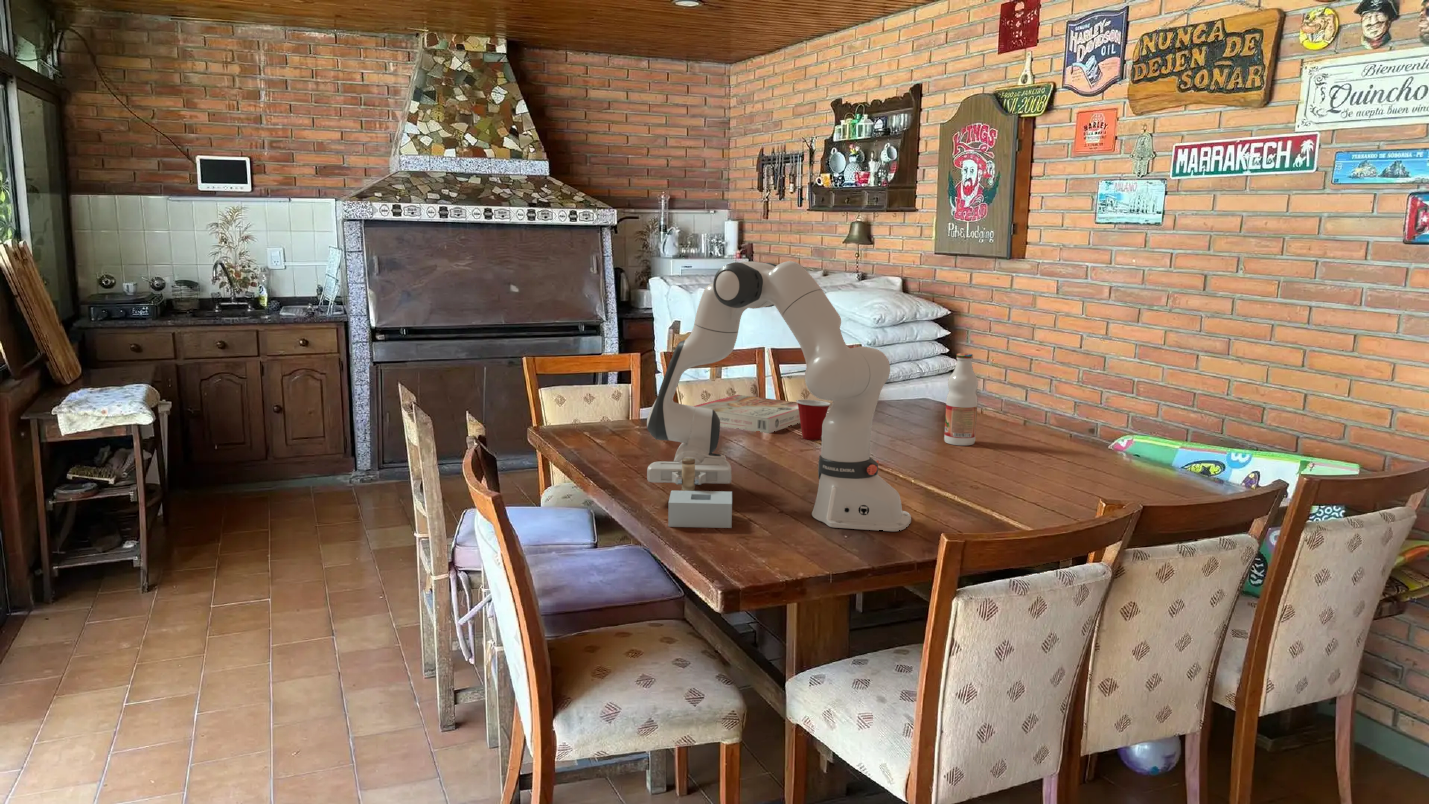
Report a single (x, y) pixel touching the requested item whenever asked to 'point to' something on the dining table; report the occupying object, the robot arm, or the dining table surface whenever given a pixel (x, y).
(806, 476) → the dining table surface
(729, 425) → the pizza box
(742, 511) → the dining table surface
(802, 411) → the plastic cup
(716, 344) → the robot arm
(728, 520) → the socket block
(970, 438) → the fruit juice
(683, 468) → the dowel pin
